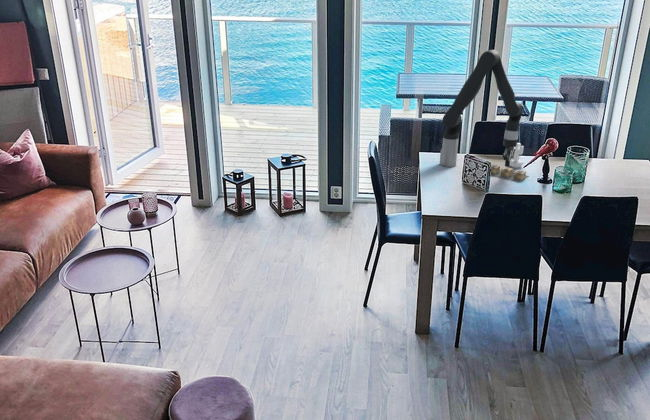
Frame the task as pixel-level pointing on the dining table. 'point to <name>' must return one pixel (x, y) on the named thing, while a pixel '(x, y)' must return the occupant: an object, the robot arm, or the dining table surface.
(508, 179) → the mat
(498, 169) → the marked block 1
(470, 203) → the dining table surface
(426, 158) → the dining table surface
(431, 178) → the dining table surface
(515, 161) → the figurine
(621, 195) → the dining table surface
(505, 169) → the plain block
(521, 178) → the marked block 2
